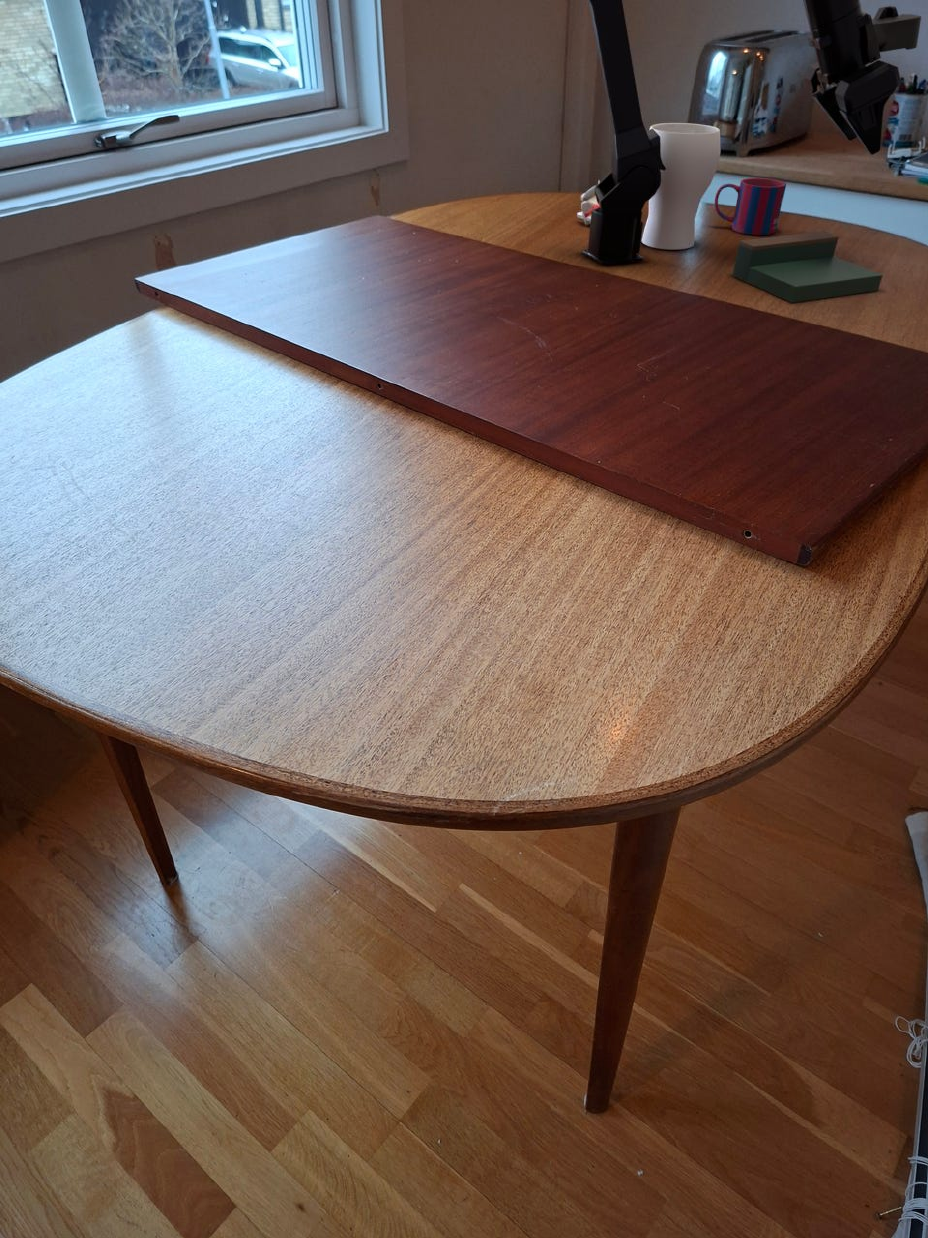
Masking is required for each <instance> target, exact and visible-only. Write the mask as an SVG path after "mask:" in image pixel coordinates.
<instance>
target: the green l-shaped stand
mask: <svg viewBox="0 0 928 1238" xmlns="http://www.w3.org/2000/svg"><path fill="white" fill-rule="evenodd" d="M838 241H839V236H838V235H835V234H832V233H830V232H826V231H824V230H823V231H815V232H804V233H796V234H785V235H778V236H777V235H776V236H769V237H760V238H751V239H742V240H739V241H738V246H737V251H736V255H735V256H736V257H735V261H734V266H733V269H732V270H733V271H732V277H734V278H736V279H738V280H740V281H743V282H745V283H747V284H749V285H752V286H754V287H756V288H758V289H760V290H762V291H764V292H767V293H769V294H771V295H773V296H776V297H778V298H780V299H782V300H784V301H786V302H789V303H790V304H795V303H801V302H808V301H815V300H822V299H828V298H829V299H830V298H835V297H843V296H850V295H855V294H856V295H858V294H864V293H865V294H866V293H871V292H877V291H879V289H880V285H881V283H882V279H883V274H882V273H878V272H876V271H874V270H871V269H868V268H866V267H862V266H860V265H857V264H855V263H852V262H850V261H847V260H844V259H841V258H839V257H836V256H835V252H836V248H837V245H838Z"/></svg>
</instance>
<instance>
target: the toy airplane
mask: <svg viewBox="0 0 928 1238" xmlns="http://www.w3.org/2000/svg"><path fill="white" fill-rule="evenodd" d="M600 182H601V181H600V180H598V183H597V185H598V184H599V183H600ZM597 185H593V186H592V187H591V188H589V189H588V190H586V192H584V193H582V194H581V195H580V201H582V202H581V204H580V209H581V211H579V212H577V213H576V215H577V218H578V219H581V220H583V221H584V224H585V225H586V226H590V223H591V212H592V210H593V209H597V208H599V207H600V206H599V204H598V203H597V200H596V195H595V191H594V188H595V187H596V186H597Z"/></svg>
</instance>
